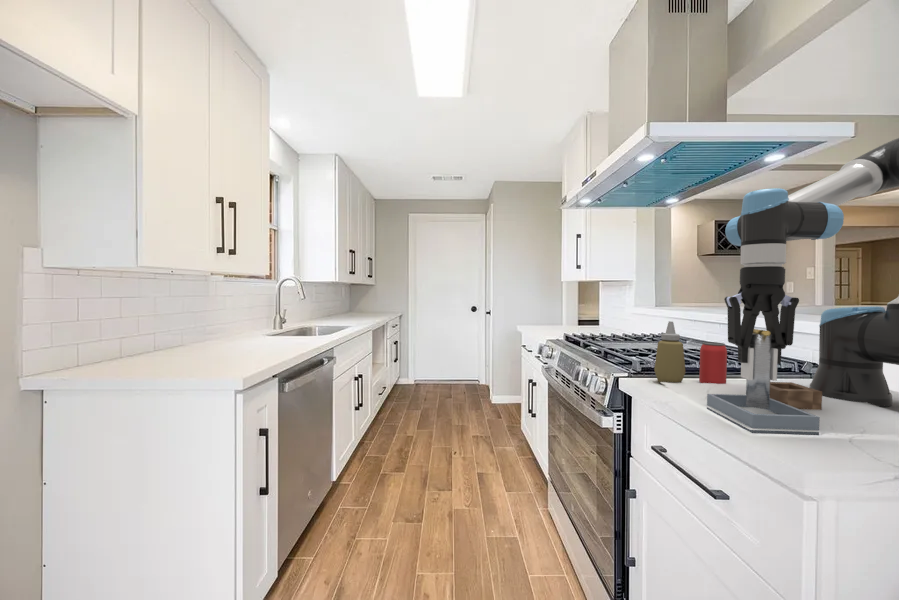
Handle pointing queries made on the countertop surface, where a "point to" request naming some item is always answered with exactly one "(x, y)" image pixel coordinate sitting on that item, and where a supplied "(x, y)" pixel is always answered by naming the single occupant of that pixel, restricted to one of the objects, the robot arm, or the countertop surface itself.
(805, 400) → the block
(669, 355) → the squeeze bottle
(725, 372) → the beer can
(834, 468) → the countertop surface
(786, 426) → the tray
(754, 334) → the steel pin
